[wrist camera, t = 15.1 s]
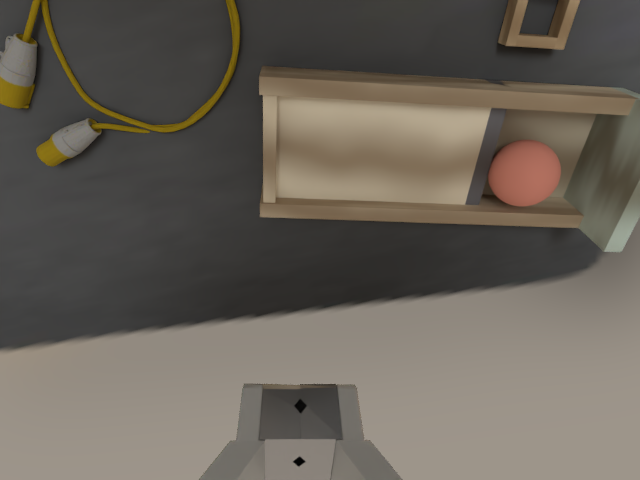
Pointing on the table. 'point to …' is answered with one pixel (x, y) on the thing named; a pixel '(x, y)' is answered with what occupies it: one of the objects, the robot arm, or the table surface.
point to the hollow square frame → (551, 41)
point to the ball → (524, 173)
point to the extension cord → (80, 89)
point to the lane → (445, 150)
